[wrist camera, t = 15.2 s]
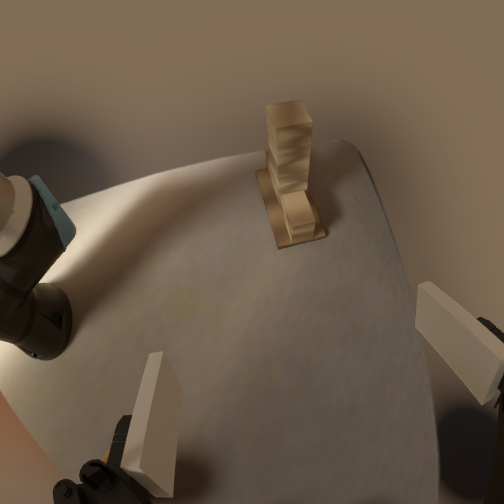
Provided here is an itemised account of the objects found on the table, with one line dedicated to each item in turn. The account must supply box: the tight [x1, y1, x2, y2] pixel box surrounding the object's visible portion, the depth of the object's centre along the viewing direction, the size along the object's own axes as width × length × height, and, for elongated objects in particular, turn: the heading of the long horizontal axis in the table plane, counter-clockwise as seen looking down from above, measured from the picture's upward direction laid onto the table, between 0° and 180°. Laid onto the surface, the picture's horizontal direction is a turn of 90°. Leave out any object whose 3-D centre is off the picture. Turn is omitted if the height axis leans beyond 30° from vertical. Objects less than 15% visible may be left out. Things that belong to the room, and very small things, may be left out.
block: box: [266, 100, 313, 196], centre depth 39 cm, size 4×4×14 cm
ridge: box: [255, 147, 326, 249], centre depth 49 cm, size 16×8×6 cm, turn 13°
